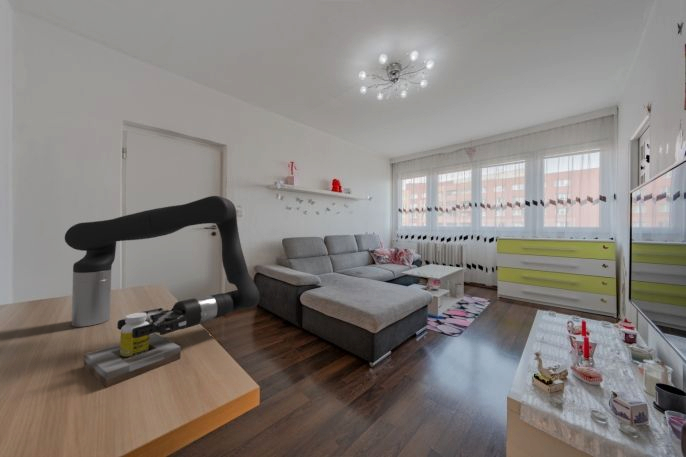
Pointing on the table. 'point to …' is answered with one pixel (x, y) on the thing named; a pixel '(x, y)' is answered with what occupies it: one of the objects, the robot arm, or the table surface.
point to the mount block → (130, 360)
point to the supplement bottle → (127, 342)
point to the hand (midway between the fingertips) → (125, 329)
